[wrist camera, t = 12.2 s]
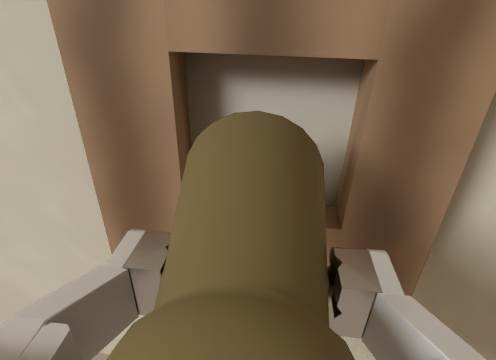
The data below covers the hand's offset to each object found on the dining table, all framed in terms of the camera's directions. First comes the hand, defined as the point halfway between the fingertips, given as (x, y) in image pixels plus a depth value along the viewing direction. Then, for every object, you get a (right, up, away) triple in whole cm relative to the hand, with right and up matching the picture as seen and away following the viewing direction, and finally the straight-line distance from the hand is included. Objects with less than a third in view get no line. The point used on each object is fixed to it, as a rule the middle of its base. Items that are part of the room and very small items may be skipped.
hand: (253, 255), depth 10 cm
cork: (0, +2, +4) cm, 5 cm away
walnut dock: (+1, +5, +9) cm, 11 cm away
